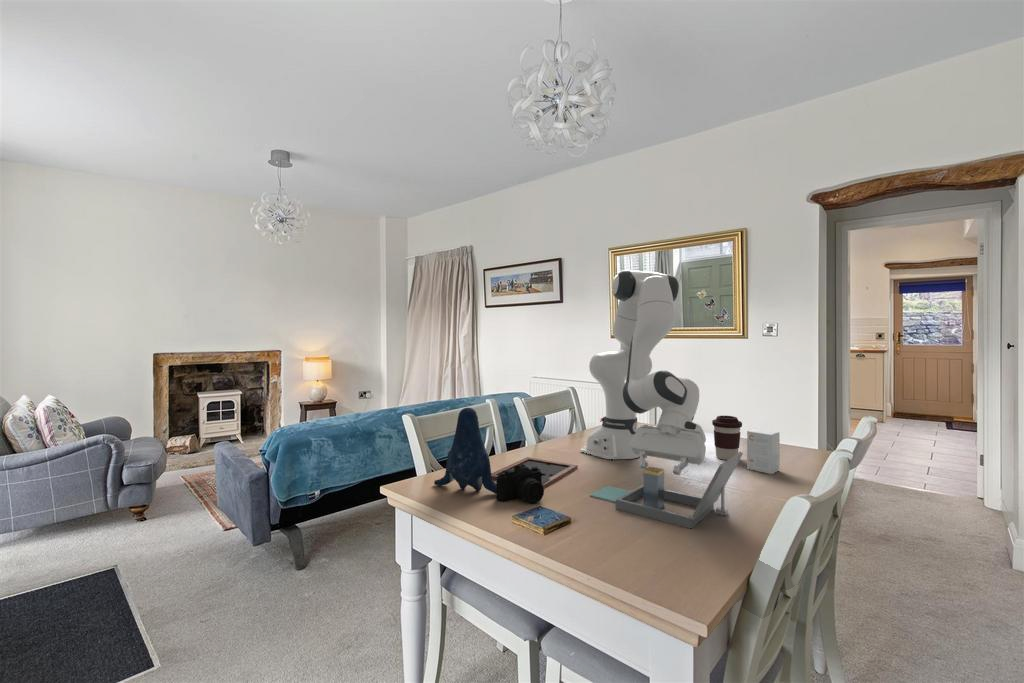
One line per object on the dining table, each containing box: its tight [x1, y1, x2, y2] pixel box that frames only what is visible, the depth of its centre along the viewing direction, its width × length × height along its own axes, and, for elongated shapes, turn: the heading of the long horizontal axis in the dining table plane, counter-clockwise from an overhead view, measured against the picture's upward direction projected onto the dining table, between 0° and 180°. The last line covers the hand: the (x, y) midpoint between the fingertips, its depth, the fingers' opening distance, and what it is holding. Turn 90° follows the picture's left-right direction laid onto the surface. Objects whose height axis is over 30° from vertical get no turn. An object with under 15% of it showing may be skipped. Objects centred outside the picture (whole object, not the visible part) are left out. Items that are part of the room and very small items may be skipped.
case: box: [615, 451, 744, 529], centre depth 126 cm, size 27×16×16 cm, turn 49°
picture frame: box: [491, 456, 579, 490], centre depth 160 cm, size 20×2×25 cm
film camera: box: [495, 464, 546, 504], centre depth 136 cm, size 15×10×9 cm, turn 118°
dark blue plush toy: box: [433, 407, 497, 495], centre depth 143 cm, size 25×11×25 cm, turn 66°
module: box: [643, 466, 665, 509], centre depth 130 cm, size 4×4×10 cm
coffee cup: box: [711, 415, 743, 461], centre depth 177 cm, size 10×10×15 cm
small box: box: [746, 428, 781, 475], centre depth 162 cm, size 8×6×13 cm
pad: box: [589, 485, 631, 504], centre depth 139 cm, size 10×10×1 cm
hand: (659, 470), depth 131 cm, fingers open, 8 cm apart
